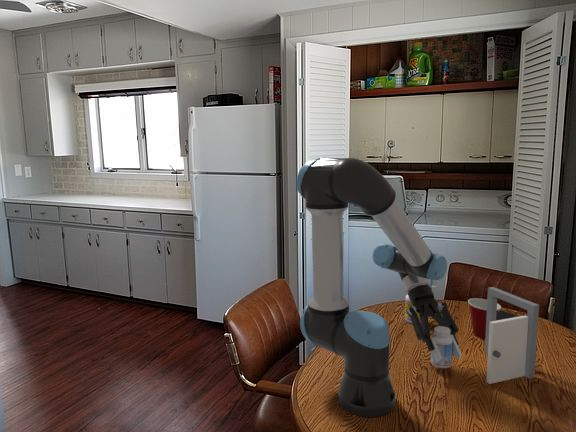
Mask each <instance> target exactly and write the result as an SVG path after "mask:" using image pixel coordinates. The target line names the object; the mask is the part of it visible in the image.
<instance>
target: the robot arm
mask: <svg viewBox="0 0 576 432" xmlns="http://www.w3.org/2000/svg"><path fill="white" fill-rule="evenodd" d="M296 189H297V192H298V194H300V196H301V197H302V198H303V199H304V200H305V209H306V211H308V212H309V213H310V214H311V248H312V250H311V254H312V255H311V257H312V262H311V263H312V297H310V298H309V300H308V302H307V305H306V306H305V307H304V308H303V313H301V315H300V320H299V321H300V322H299V326H300V327H299V328H300V330H301V333H302V336H303V337H304V338H305V339H306V340H307V341H308V342H309V343H311V344H313V345H315V347H318V348H322V349H324V350H327V351H328V352H329V353H333V354H335V355H337V356H340V357H342V358H343V359H344V373H343V376H342V379H341V382H340V384H339V387H338V392H337V396H338V397H337V400H338V403H339V406H340V407H341V408H343V410H345V411H346V412H348V413H351V414H353V415H356V416H360V417H365V418H366V417H367V418H375V417H381V416H385V415H387V414H389V413H391V412H392V411H393V410H394V409H395V406H396V393H395V388H394V386H393V383H392V380H391V377H390V342H391V335H390V327H389V323H388V322H387V320H386V319H385V318H384V317H383V316H382V315H379V314H378V313H376V312H372V311H369V310H368V311H367V310H366V311H364V310H359V309H358V310H352V311H350V301H349V300H348V299H347V298H346V297H345V296H344V213H345V212H346V211H347V209H348V208H349V204H350V205H354V206H355V207H358V208H360V210H362V212H363V213H364V214H365V215H367V216H369V217H372V218H373V220H374V221H375V222H376V223H377V225H378V226H379V228H380V229H381V230H382V232H383V233H384V234H385V235H386V237H387V238H388V239H389V241H390V242H391V243H392V244H387V243H380V244H378V245H377V246H375V248H374V249H373V251H372V261H373V262H374V265H377V267H380V268H382V269H386V270H389V271H393V272H395V273H398V275H399V277H400V279H401V281H402V283H403V284H402V285H403V287H404V289H405V292H406V293H407V294H408V296H409V299H410V301H411V303H412V304H413V307H410V308H409V309H408V310H407V311H406V312H407V314H408V315H409V316H410V318H411V321H412V323H411V324H412V326H413V329H414V332H415V334H416V335H415V336H416V338H417V340H418V341H422V342H423V343H425V344H426V347H427V349H428V351H429V352H431V351H432V354H433V356H434V358H435V361H436V363H437V362H439V361H441V360H442V359H443V358H442V356H441V354H440V351H439V349H438V347H437V344H436V342H435V340H434V338H432V336H431V331H430V323H429V317H431V318H432V320H434V321H435V322H436V323H437V324H438V326H444V327H447V328H449V329H450V337H451V338H452V340H453V343H452V356H454V359H459V358H460V357H462V356H463V354H462V352H461V350H460V347H459V341H458V339H457V336H456V333H457V332H459V328H458V326H457V324H456V323H455V320H454V318H453V317H452V314H451V313H450V311H449V309H448V305H447V302H444V301H443V302H438V301H437V300H436V299H435V294H434V291H433V290H432V288H431V286H430V285H429V284H430V282H429V281H428V280H433V281H440V280H442V279H443V278H444V277H445V275H446V273H447V271H448V270H447V269H448V261H447V258H446V257H445V256H443V255H441V254H438V253H433V251H432V250H431V249H430V246H428V244H427V243H426V241H425V240H424V239H423V237H422V236H421V234H420V233H419V231H418V230H417V228H416V227H415V225H414V224H413V223H412V220H410V218H409V217H408V215H407V214H406V213H405V211H404V209H403V208H402V206H401V205H400V203H399V202H398V201H397V199H396V198H397V194H396V193H397V192H396V190H395V189H394V187H393V186H392V184H391V183H390V182H389V181H388V180H387V179H386V177H385V176H384V175H383V174H382V173H380V171H379V170H377V169H376V168H375V167H374V166H372V165H371V164H369V163H368V162H366V161H364V160H363V159H359V158H355V157H347V158H346V157H344V158H343V157H324V156H322V157H316V158H310V159H309V160H307V161H306V162H304V164H303V165H302V166H301V167H300V169H299V171H298V173H297V177H296ZM416 312H418V313H419V316H420V320H421V323H420V321H419V318H418V315H417V313H416Z"/></svg>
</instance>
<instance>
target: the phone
mask: <svg viewBox="0 0 576 432" xmlns="http://www.w3.org/2000/svg"><path fill="white" fill-rule="evenodd" d="M514 317H518V314H515V313H512V312H509V311H506V310H504V309H503V310H501V309H500V310H499V312H498V314H497V316H496V321H497V320H503V319H508V318H514Z"/></svg>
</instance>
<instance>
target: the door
mask: <svg viewBox="0 0 576 432" xmlns="http://www.w3.org/2000/svg"><path fill="white" fill-rule="evenodd" d="M527 333H528V317H527V315H519V316H517V317H514V318H508V319H503V320H497V321H492V322H489V342H488V354H487V362H486V363H487V365H486V383H488V384H489V385H491V384H495V383H499V382H503V381H504V382H505V381H508V380H513V379H517V378H522V377H525V364H526V348H527Z"/></svg>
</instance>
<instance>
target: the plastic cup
mask: <svg viewBox="0 0 576 432" xmlns="http://www.w3.org/2000/svg"><path fill="white" fill-rule="evenodd" d="M467 302H468V305H469V313H470V321H471V322H470V323H471V327H472V333H473V336H475V337H476V338H480V339H485V338H486V317H487V299H484V298H477V297H476V298H474V297H473V298H469V299H468V300H467ZM501 309H502V305H500V304H499V303H498V302H497V313H496V316H497V314H498V312H499V310H501Z"/></svg>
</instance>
